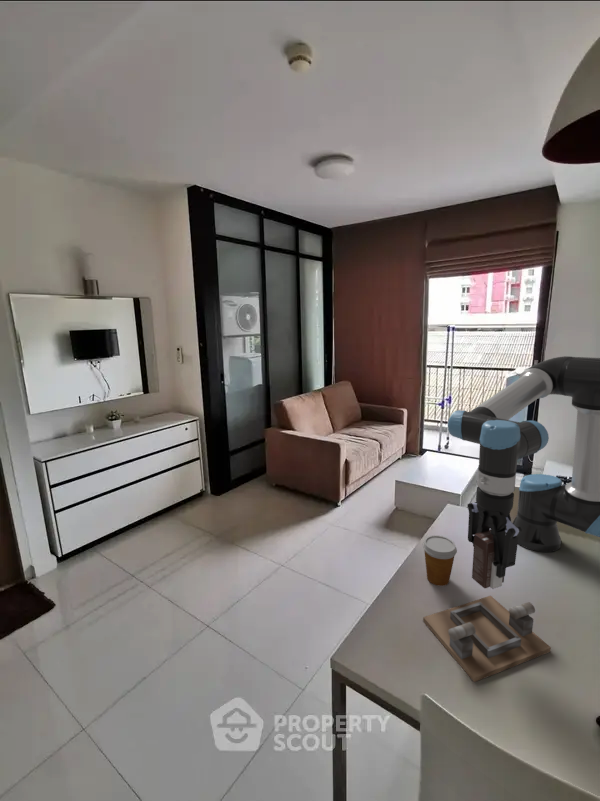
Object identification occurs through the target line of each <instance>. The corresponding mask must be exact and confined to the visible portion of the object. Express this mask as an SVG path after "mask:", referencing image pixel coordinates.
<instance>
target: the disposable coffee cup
mask: <svg viewBox="0 0 600 801" xmlns="http://www.w3.org/2000/svg"><path fill="white" fill-rule="evenodd" d="M422 548H423V552H424V560H425V568H426V571H425V572H426V579H427V580H428V582H429V583H430V584H432V585H434V586H437V587H438V586H439V587H445V586H447V585H449V583H450V578H451V576H452V575H451V574H452V570H453V564H454V561H455V560H454V559H455V556H456V554H457V553H458V552H457V551H458V549H457V547H456V544H455V542H454V541H453V540H452V539H451V538H448V537H446V536H443V535H435V534H434V535H430V536H427V537H425V539H424V540H423V543H422Z"/></svg>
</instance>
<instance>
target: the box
mask: <svg viewBox="0 0 600 801" xmlns="http://www.w3.org/2000/svg"><path fill="white" fill-rule="evenodd" d="M473 536H474V547H473V553H472V554H473V557H472V570H471V579H473V580H474V581H475V582H476V583H477V584H478V585H479V586H480V587H482V588H483V589H488V588H491V587H490V582H491V570H492V562H494V561H495V553H494V541H493V535H492V534H491V530H489V531H486V532H482V533H481V532H480V533H477V534H474V535H473ZM503 583H505V576H504V577H503V579H502V584H503Z"/></svg>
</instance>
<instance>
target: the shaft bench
mask: <svg viewBox="0 0 600 801" xmlns="http://www.w3.org/2000/svg"><path fill="white" fill-rule="evenodd" d="M535 612H536V608H535V606H534V604H533V603H531V602H529V601H528V602H525V603H522V604H519V605H516V606H513V607H510V608H509V609H507V608H506V607H505V606H503V605H502V604H501V603H500V602H499V601H498V600H496V598H494V597H493V596H492V595H488V596H485V597H481V598H479V599H475V600H473V601H470V602H466V603H464V604H463V603H462V604H460V605H458V606H454V607H451V608H448V609H444V610H442V611H441V610H440V611H439V612H435V613H432V614H429V615H426V616H423V617H422V621H423V623H424V624H425V626H427V627H428V629H429V630H430V631H431V632H432V634H434V636H435V637H436V638H437V639H438V641H439V642H440V643H441V644H442V645H443V647H445V649H446V650H447V651H448V653H449V654H450V655H451V656H452V657H453V659H454V660H455V661H456V662H457V663H458V665H459V666H461V668H462V669H463V671H464V673H466V675H468V676H469V678H470V679H471V680H472V681H473V682H474V683H476V682H478V681H481V680H483V679H485V678H489V677H492V676H493V675H496V674H498V673H501V672H503V671H506V670H509V669H511V668H513V667H514V668H515V667H516V666H518V665H520V664H523V663H526V662H528V661H531V660H533V659H537V658H538V657H541V656H543V655H546V654H548V653H550V652H552V650H551V649H552V647H551V646H550V645H549V644H548V643H546V641H544V640H543V639H542V638H541V637H539V635H537V634H536V633H535V632H534V631H533V628H534V618H533V617H532V616H530V615H531V614H534V613H535Z"/></svg>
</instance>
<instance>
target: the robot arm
mask: <svg viewBox="0 0 600 801" xmlns="http://www.w3.org/2000/svg"><path fill="white" fill-rule="evenodd" d="M549 395H558V396H564V397H565V396H566V397H571V406H572V407H573V408H575V409H576V410H577V412H576V413H577V414H576V426H575V434H574V435H575V437H574V449H573V458H572V459H573V460H572V461H573V463H572V474H571V481H570V482H568V483H566V484H565V485H563V481H562V479H560V477H557V476H555V475H550V474H543V473H542V474H541V473H539V474H538V473H536V474H535V473H534V474H528V475H525V476H523V477H522V478H521V479H520V483H519V488H518V501H517V511H516V512H517V514H516V516H515V518H514V520H513V522H512V517H511V514H510V513H511V511H512V510H513V508H514V499H515V494H514V492H515V490H516V478H517V466H518V460H520V459H522V458H524V457H527V456H532V455H534V454H537V453H538V452H539V451H541V450H542V449H544V448H545V447H546V446H547V445H548V444H549V443H548V442H549V433H548V430H547V429H546V427H545V426H544V425H543V424H542V423H541V422H539V421H536V420H522V421H513V420H511V418H513V417H514V416H516V415H517V414H518V413H520V412H521V411H523V410H524V409H525V408H527V407H528V406H529V405H530V404H532V403H534V402H535V401H537V399H544V398H546V397H548V396H549ZM447 428H448V429H447V430H448V433H449V434H450V436H452V437H454V438H457V439H459V440H462V441H463V442H464V441H465V442H470V443H473V444H477V445H479V456H478V457H479V458H478V469H477V470H478V471H477V483H476V485H477V488H476V492H475V501H474V502H470V503H467V510H468V527H467V540H468V542H469V543H471V544H472V546H473V548H474V534H477V533H480V532H481V533H482V532H486V531H489V530H491V534H492V535H493V541H494V553H495V561H494V562H492V570H491V582H490V587H489V588H490V589H492V590H494V589H498V588H501V587H503V583H502V579H503V577H504V578H505V576H506V571H507V568H509V567H512V566H515V565H516V561H517V560H516V559H517V551H518V545H519V546H521V547H522V548H526V549H528V550H531V551H536V552H540V553H551V552H552V553H553V552H556V551H558V550H559V549H560V548H561V543H562V539H561V536H560V533H559V532H560V531H559V527H558V524H557V523H560V524H562V525H565V526H568V527H571V528H573V529H576V530H579V531H580V532H581V531H582V532H583V533H585V534H589V535H591V536H594V537H598V538H600V357H587V356H586V357H583V356H581V357H580V356H567V355H566V356H556V357H553V358H549V359H546V360H542V361H541V362H539V363H536V364H534V365H532V366H529V367H528V368H527V369H525V370H524V371H523V372H522V373H520V375H519V376H518V379H516V380H515V381H513V382H511V383H510V384H509V385H508V386H506V387H504V388H502V389H501V390H499V391H498V392H497V393H495V394H494V395H493V396H491V397H489V398H488V399H486V400H485V401H484V402H482V403H480V404H479V405H478V406H476V407H475V408H473V409H472V410H470V411H467V410H455V411H453V412H452V413H451V415H450V416H449V418H448V421H447Z"/></svg>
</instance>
